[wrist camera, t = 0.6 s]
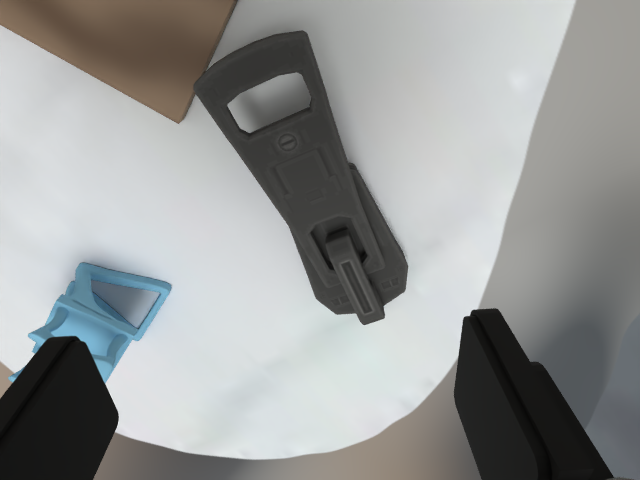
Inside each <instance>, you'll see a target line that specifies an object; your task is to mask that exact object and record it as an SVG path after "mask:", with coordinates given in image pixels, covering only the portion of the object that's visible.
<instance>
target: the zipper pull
mask: <svg viewBox="0 0 640 480" xmlns="http://www.w3.org/2000/svg"><path fill="white" fill-rule="evenodd" d="M295 72H298V73H300V74H301V75H302V76H303V79H304V81H305V83H306V86H307V88H308V90H309V93H310V95H311V102H310V107H308V108H306V109H304V110H302V111H299V112H297V113H295V114H292V115H290V116H288V117H286V118H283V119H281V120H279V121H277V122H274V123H272V124H270V125H268V126H265V127H263V128H261V129H258V130H256V131H254V132H252V133H248V132H246V131H244V130H242V129H240V128H239V126H238V124H237V122H236V121H235V119H234V117H233V115H232V114H231V112H230V110H229V108H228V107H227V104H228V103H229V102H230V101H232V100H233V99H234V98H235V97H236V96H237V95H239V94H240V93H242V92H244V91H246V90H248V89H250V88H253V87H255V86H257V85H259V84H261V83H263V82H266V81H268V80H270V79H272V78H274V77H276V76H279V75H284V74H289V73H295ZM193 90H194V92H195V93H196V95H197V96H198V98H199V99H200V100H201V102H202V103H203V105H204V106H205V108H206V109H207V111H208V112H209V113H210V115H211V116H212V118H213V119H214V121H215V122H216V124H217V125H218V126H219V128H220V129H221V131H222V132H223V134H224V135H225V136H226V138H227V139H228V141H229V142H230V143H231V144H232V146H233V147H234V148H235V150H236V151H237V153H238V154H239V156H240V157H241V158H242V160H243V161H244V163H245V164H246V166H247V167H248V168H249V170H250V171H251V173H252V174H253V176H254V177H255V178H256V180H257V181H258V183H259V184H260V186H261V187H262V188H263V190H264V191H265V193H266V194H267V196H268V197H269V198H270V200H271V201H272V203H273V204H274V206H275V207H276V209H277V210H278V211H279V213H280V214H281V216H282V217H283V219H284V220H285V221H286V223H287V224H288V226H289V228H290V231H291V233H292V236H293V238H294V241H295V244H296V246H297V249H298V252H299V254H300V257H301V259H302V262H303V265H304V267H305V270H306V273H307V275H308V278H309V281H310V284H311V287H312V289H313V292H314V295H315V297H316V299H317V300H318V301H319V302H321V303H322V304H323V305H325V306H326V307H327V308H329V309H330V310H331V311H332V312H334V313H335V314H337V315H338V314H353V313H356V314H357V316H358V318H359V320H360V322H361V323H362V324H363V325H366V324H369V323H372V322H375V321H378V320H381V319H384V318H385V313H384V307H383V306H384V305H386V304H387V303H389V302H390V301H391V300H393V299H394V298H396V297H397V296H399V295H400V294H402V293H403V292H405V289H406V281H407V272H408V265H407V262H406V259H405V256H404V254H403V252H402V250H401V248H400V246H399V245H398V243H397V241H396V240H395V238H394V236H393V234H392V233H391V231H390V229H389V227H388V225H387V223H386V222H385V220H384V218H383V216H382V214H381V212H380V210H379V209H378V207H377V205H376V203H375V201H374V199H373V197H372V196H371V194H370V192H369V190H368V188H367V186H366V185H365V183H364V181H363V179H362V177H361V175H360V173H359V172H358V170H357V168H356V166H355V165H354V164H352V163H348V161H347V158H346V155H345V152H344V149H343V146H342V143H341V139H340V136H339V133H338V130H337V127H336V124H335V121H334V117H333V114H332V111H331V108H330V105H329V101H328V98H327V94H326V90H325V87H324V84H323V81H322V78H321V75H320V72H319V68H318V65H317V62H316V59H315V56H314V53H313V50H312V47H311V44H310V41H309V37H308V34H307V33H306V32H304V31H296V32H289V33H282V34H275V35H272V36H269V37H266V38H264V39H261V40H258V41H255V42H253V43H250V44H248V45H246V46H244V47H242V48H240V49H238V50H236V51H234V52H232V53H230V54H229V55H227V56H226V57H224V58H222V59H221V60H219V61H218V62H216V63H215V64H213V65H212V66H211V67H210V68H209V69H208V70H207V71H206V72H205V73H204V74H203V75H202V76H201V77H200V78H199V79H198V80H197V81H196V82H195V83H194V85H193Z"/></svg>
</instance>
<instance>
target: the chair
mask: <svg viewBox="0 0 640 480" xmlns="http://www.w3.org/2000/svg"><path fill="white" fill-rule="evenodd" d="M91 280H95V281H100V282H105V283H110V284H116V285H121V286H127V287H133V288H138V289H144V290H149V291H155V292H159V293H161V294H160V296H159V297H158V299H157V301H156V302H155V304H154V306H153V307H152V309H151V310H150V312H149V314H148V315H147V317H146V318H145V320H144V322H143V323H142V325H141V326H140V328H139V329H137V328H135V327H133V326H132V325H131V324H130V323H129V322H127V321H126V320H125V319H124V318H123V317H122V316H120V315H119V314H118V313H117V312H116V311H115V310H113V309H112V308H111V307H110V306H109V305H108V304H106V303H105V302H104V301H103V300H102V299H101V298H99V297H98V296H97V295H96V294H94V293H93V292H92V289H91ZM170 290H171V285H170V284H168V283H166V282H163V281H159V280H155V279H151V278H146V277H141V276H137V275H132V274H127V273H123V272H118V271H113V270H109V269H105V268H101V267H97V266H94V265H90V264H87V263H80V264H79V266H78V267H77V269H76V279H75V281H72V282H71V283H70V284H69V286H68V288H67V290H66V294H65V295H63V294H62V295H61V296H60V297H59V298H58V299H57V300H56V302H55V304H54V306H53V309H52V311H51V313H50V315H49V317H48V320H47V322H46V324H45V326H43V327H41V328H39V329H37V330H35V331H33V332H31V333H29V334H28V337H29V338H30V339H32V340H33V341H35V342H36V344H35V346H34V348H33V350H32V352H33V353H36V352H37V351H38V350H39V348H40V347H41V346H42V345H43V343H44V342H45V341H46V340H47V339H48V338H50V337H59V336H77V337H78V338H79V339H80V340H81V341H84V342H85V343H86V344H87V346H88V348H89V350H90V352H91V355H92V357H93V359H94V361H95V363H96V365H97V368H98V370H99V372H100V374H101V376H102V378H103V381H104V383H106V381H107V380H108V378H109V376H110V375H111V373H112V371H113V370H114V368H115V367H116V365H117V363H118V362H119V360H120V358H121V357H122V355H123V354H124V352H125V350H126V349H127V347H128V346H129V344H130V342H131V341H132V339H133V340H135V341H139V340H140V339H141V338H142V336H143V335H144V333H145V331H146V330H147V328H148V327H149V325H150V323H151V322H152V320H153V319H154V317H155V315H156V314H157V312H158V311H159V309H160V307H161V306H162V304H163V303H164V301H165V299H166V298H167V296H168V294H169V292H170ZM24 368H25V367H24ZM24 368H22V369H21V370H20V371H18V372H16V373H15V374H13V375H11V376H10V377H9V378H8V379H9V380H10V381H12V382H14V381H15V379H16V378H17V377H18V375H19V374H20V373H21V372H22V370H23V369H24Z"/></svg>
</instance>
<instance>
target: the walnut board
mask: <svg viewBox="0 0 640 480" xmlns="http://www.w3.org/2000/svg"><path fill="white" fill-rule="evenodd" d="M237 1H238V0H0V25H2V26H3V27H5V28H7V29H9V30H11V31H12V32H14V33H16V34H18V35H20V36H21V37H23V38H25V39H27V40H29V41H30V42H32V43H34V44H36V45H38V46H39V47H41V48H43V49H45V50H47V51H48V52H50V53H52V54H54V55H56V56H57V57H59V58H61V59H63V60H65V61H66V62H68V63H70V64H72V65H74V66H75V67H77V68H79V69H81V70H83V71H84V72H86V73H88V74H90V75H92V76H93V77H95V78H97V79H99V80H101V81H102V82H104V83H106V84H108V85H110V86H111V87H113V88H115V89H117V90H119V91H120V92H122V93H124V94H126V95H128V96H129V97H131V98H133V99H135V100H137V101H138V102H140V103H142V104H144V105H146V106H147V107H149V108H151V109H153V110H155V111H156V112H158V113H160V114H162V115H163V116H165V117H167V118H169V119H171V120H172V121H174V122H176V123H178V124H179V123H180V122H181V121H182V120H184V118H185V116H186V114H187V111H188V109H189V107H190V105H191V102H192V100H193V98H194V96H195V94H196V93H195V92H194V90H193V85H194V83H195V82H196V81H197V80H198V79H199V78H200V77H201V76H202V75H203V74H204V73H205V71H206V69H207V67H208V65H209V63H210V60H211V58H212V56H213V54H214V52H215V49H216V47H217V45H218V43H219V41H220V38H221V36H222V34H223V32H224V29H225V27H226V25H227V23H228V21H229V18H230V16H231V14H232V12H233V10H234V7H235V5H236V3H237Z"/></svg>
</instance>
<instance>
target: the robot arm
mask: <svg viewBox="0 0 640 480" xmlns="http://www.w3.org/2000/svg"><path fill="white" fill-rule="evenodd" d="M454 398H455V404H456V408H457V410H458V413H459V416H460V419H461V422H462V425H463V427H464V430H465V433H466V436H467V439H468V442H469V445H470V447H471V450H472V453H473V456H474V459H475V461H476V464H477V467H478V470H479V473H480V476H481V479H482V480H634V479H629V478H622V477H617V478H614V477H613V475H612V473H611V472H610V470H609V469H608V467H607V465H606V464H605V462H604V461H603V459H602V458H601V456H600V454H599V453H598V451H597V450H596V448H595V446H594V445H593V443H592V442H591V440H590V438H589V437H588V435H587V434H586V432H585V430H584V429H583V427H582V426H581V424H580V423H579V421H578V420H577V418H576V416H575V415H574V413H573V411H572V410H571V408H570V407H569V405H568V403H567V402H566V400H565V399H564V397H563V396H562V394H561V392H560V391H559V389H558V388H557V386H556V385H555V383H554V381H553V380H552V378H551V377H550V375H549V373H548V372H547V370H546V369H545V368H544V366H543V365H542V364H540V363H539V362H530V361H529V359H528V358H527V356H526V354H525V353H524V351H523V349H522V348H521V346H520V344H519V343H518V341H517V340H516V338H515V336H514V334H513V333H512V331H511V329H510V328H509V326H508V324H507V323H506V321H505V320H504V318H503V316H502V314H501V313H500V311H499V310H498V309H479V310H472V312H471V314H470V316H465V317H464V319H463V326H462V333H461V341H460V349H459V357H458V365H457V373H456V381H455V389H454ZM118 419H119V416H118V411H117V409H116V407H115V404H114V402H113V400H112V398H111V396H110V394H109V391H108V389H107V387H106V385H105V383H104V381H103V378H102V376H101V374H100V372H99V370H98V368H97V365H96V363H95V361H94V359H93V357H92V355H91V352H90V350H89V348H88V346H87V344H86V343H85V342H84V341H81V340H80V339H79V338H78V337H77V336H59V337H50V338H48V339H47V340H46V341H45V342H44V343H43V345H42V346H41V347H40V348H39V350H38V351H37V352H36V354H35V355H34V356H33V357H32V359H31V360H30V361H29V363H28V364H27V365H26V366H25V368H24V369H23V370H22V372H21V373H20V374H19V375H18V377H17V378H16V379H15V381H14V382H13V383H12V384H11V386H10V387H9V388H8V390H7V391H6V392H5V393H4V395H3V396H2V397H1V399H0V480H93V478H94V476H95V474H96V472H97V470H98V467H99V465H100V463H101V461H102V458H103V456H104V454H105V452H106V450H107V447H108V445H109V443H110V441H111V439H112V437H113V434H114V432H115V430H116V428H117V425H118Z"/></svg>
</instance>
